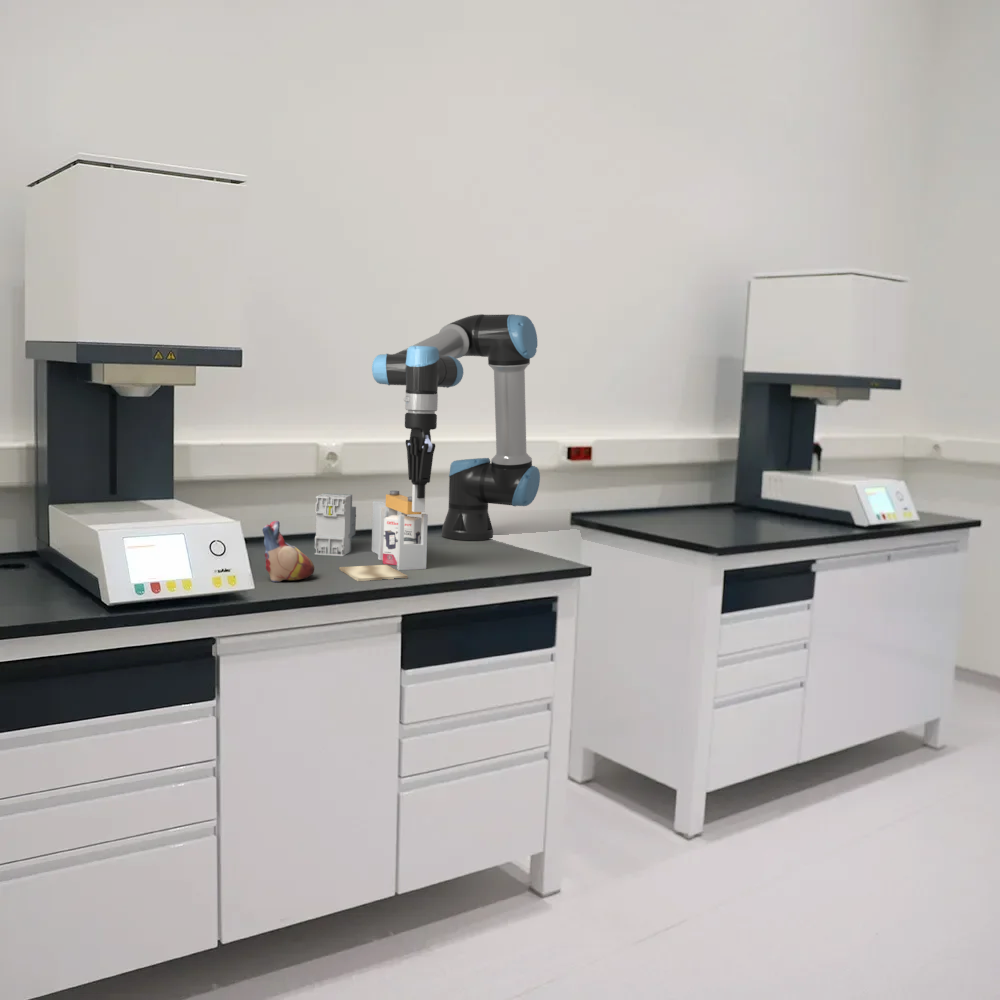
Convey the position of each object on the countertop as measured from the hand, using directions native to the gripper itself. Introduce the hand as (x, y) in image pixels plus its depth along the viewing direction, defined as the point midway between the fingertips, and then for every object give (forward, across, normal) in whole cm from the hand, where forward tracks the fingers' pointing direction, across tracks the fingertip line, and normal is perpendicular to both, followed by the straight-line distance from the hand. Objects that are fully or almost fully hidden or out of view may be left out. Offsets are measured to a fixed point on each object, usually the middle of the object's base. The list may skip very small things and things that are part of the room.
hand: (418, 511), depth 238 cm
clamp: (+15, -15, 0) cm, 21 cm away
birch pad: (+15, 0, -11) cm, 18 cm away
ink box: (+15, -10, 0) cm, 18 cm away
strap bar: (+1, -10, 0) cm, 10 cm away
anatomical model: (+15, +1, -31) cm, 35 cm away
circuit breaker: (+15, -32, -10) cm, 36 cm away
